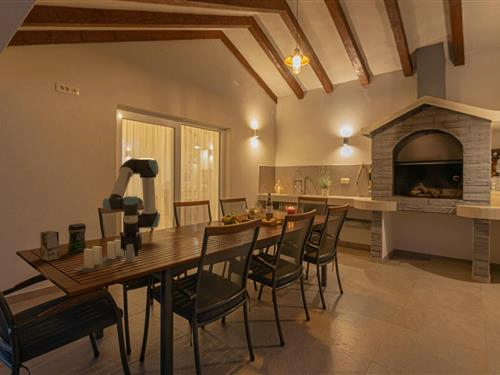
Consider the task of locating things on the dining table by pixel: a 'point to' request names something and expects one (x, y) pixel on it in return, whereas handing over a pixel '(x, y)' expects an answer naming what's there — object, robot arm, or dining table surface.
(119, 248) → the domino
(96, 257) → the domino
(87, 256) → the domino
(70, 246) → the coffee jar
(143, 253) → the dining table surface
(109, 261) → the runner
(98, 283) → the dining table surface
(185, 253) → the dining table surface
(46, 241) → the coffee box
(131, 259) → the domino
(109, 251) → the domino
